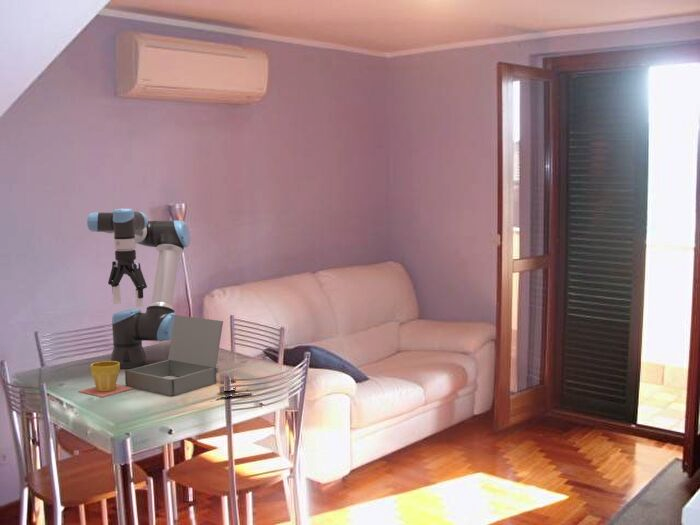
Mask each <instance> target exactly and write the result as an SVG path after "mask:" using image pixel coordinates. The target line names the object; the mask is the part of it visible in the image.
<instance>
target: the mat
mask: <svg viewBox="0 0 700 525" xmlns="http://www.w3.org/2000/svg"><path fill="white" fill-rule="evenodd" d="M134 389H135V388H132V387H127V386H126V385H122V384H117V383H116V388H115V389H114V390H112V391H106V392H101V391H97V389H96V386H93V387H88V388H86V389H85V388H84V389H81V390H78V393H81V394H86V395H90V396H95V397H99V398H102V399H103V398H105V397H109V396H115V395H117V394H121V393H124V392H128V391H132V390H134Z"/></svg>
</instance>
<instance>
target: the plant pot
mask: <svg viewBox="0 0 700 525" xmlns="http://www.w3.org/2000/svg"><path fill="white" fill-rule="evenodd" d="M120 371H121V368H120V363H119V362H117V361H110V360H101V361H97V362H96V361H95V362H93V363H91V364H90V374H91V375H92V377H93V380H94V384H95V387H96V389H97V391H101V392H106V391H112V390H114V389H115V388H116V384H117V382H118V376H119V373H120Z"/></svg>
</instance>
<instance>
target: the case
mask: <svg viewBox="0 0 700 525" xmlns="http://www.w3.org/2000/svg"><path fill="white" fill-rule="evenodd" d="M223 324H224V321H223V320H218V319H210V318H208V319H207V318H201V317H195V316H187V315H178V314H176V315H175V318H174V324H173V330H172V336H171V340H170V342H169V343H170V344H169V350H168V356H167V359H166V360H162V361H158V362H157V361H156V362H153V363H150V364H146V365H144V366H140V367H135V368H128V369H126V370H125V369H124V370H125V371H124V373H125V374H124V375H125V376H124V380H125V386H127V387H132V388H134V389H136V390H142V391H146V392H151V393H156V394H160V395H163V396H164V395H165V396H169V397H175V396H178V395H182V394H185V393H188V392H192V391H194V390H195V391H196V390H198V389H202V388H205V387H208V386H212V385H215V384H217V369H218V368H217V366H218V365H217V363H218V357H219V351H220V345H221V340H222V339H221V337H222V331H223ZM167 376H174V377H175V378H169V377H167Z"/></svg>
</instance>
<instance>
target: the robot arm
mask: <svg viewBox="0 0 700 525" xmlns="http://www.w3.org/2000/svg"><path fill="white" fill-rule="evenodd" d="M86 222H87V223H86V224H87V225H86V226H87V228H88V230H89V231H90V232H96V233H106V234H109V235H110V234H111V235H113V238H114V249H115V252H114V255H115V256H114V257H115V259H114V260H116V261H112V262H111V264H112V265H111V266H112V267H111V271H110V274H109V278H108V281H107V282H108V283H107V284H108V285H110V286H111V288H112V298H113V299H112V300H113V304H114V305H115V304H116V305H117V304H121V303H122V302H121V286H120V283H121V280H122V278H123V277H124V275H127V276H128V277H129V278H130V280H131V281H132V283H133V285H134V286H135V307H136V308H130V309H124V310H120V311H117V312H115V313H114V314H112V321H111V326H112V339H113V340H112V342H113V344H112V346H113V348H112V351H111V357H110V359H109V361H117V362H119V363H120V370H121V369H124V370H125V369H133V368H137V367H141V366H145V365H148V357H147V355H146V353H145V350H144V347H143V341H151V342H154V341H155V342H165V341H171V336H172V330H173V324H174V318H175V315H177V314H176V311H175V309H174V308H173V301H174V300H173V299H174V294H175V285H176V278H177V272H178V265H179V260H180V259H179V258H180V256H181V255H182V254H183V253H184V248H185V249H186V248H188V247H189V245H190V241H191V240H190V239H191V238H190V237H191V235H190V231H189V227H188V225H187V223H186V222H185V221H183V220H175V219H174V220H149V219H148V216H147V215H146V214H145V213H144V212H142V211H139V210H137V211H134V210H133V209H132V208H115V209H114V210H113V211H112V212H99V211H97V212H91V213H89V215H88V216H87V219H86ZM136 244H137V245H141V246H145V247H149V248H155V249H156V251H157V252H158V257H157V258H158V259H157V262H156V270H155V276H154V281H153V282H154V284H153V291H152V297H151V302H150V304H149V305H148V306H147V307H146V310H145V311H146V312H142V311H141V307H144V289H147V288H148V285H147V283H146V280H145V276H144V274H143V272H142V269H141V263H140V262H136V263H135V260H136V259H137V254H136Z"/></svg>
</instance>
